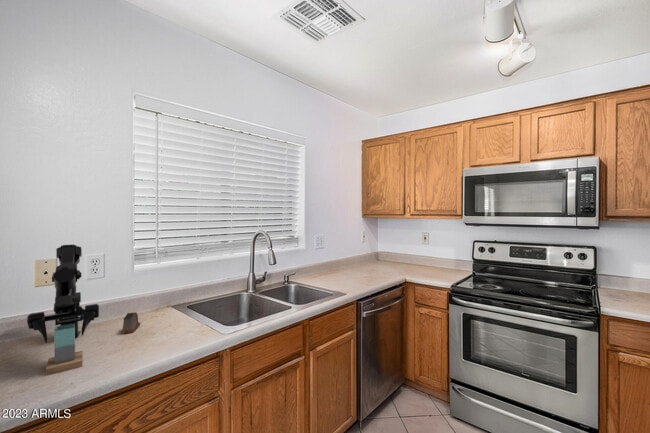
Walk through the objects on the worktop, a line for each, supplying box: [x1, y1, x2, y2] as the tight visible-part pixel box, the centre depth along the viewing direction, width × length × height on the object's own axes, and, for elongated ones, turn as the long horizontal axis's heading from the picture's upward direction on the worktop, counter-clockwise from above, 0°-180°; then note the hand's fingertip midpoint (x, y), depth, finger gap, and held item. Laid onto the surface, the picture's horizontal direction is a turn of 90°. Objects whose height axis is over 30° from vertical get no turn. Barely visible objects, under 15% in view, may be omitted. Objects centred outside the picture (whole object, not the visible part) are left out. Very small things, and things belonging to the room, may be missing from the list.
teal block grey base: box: [53, 323, 76, 364], centre depth 103 cm, size 5×5×11 cm
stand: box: [45, 350, 84, 376], centre depth 103 cm, size 9×9×2 cm
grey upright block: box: [121, 311, 141, 335], centre depth 134 cm, size 4×10×8 cm, turn 15°
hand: (64, 338), depth 102 cm, fingers open, 9 cm apart
